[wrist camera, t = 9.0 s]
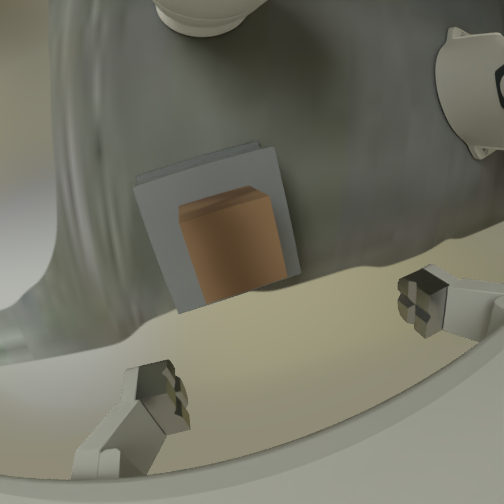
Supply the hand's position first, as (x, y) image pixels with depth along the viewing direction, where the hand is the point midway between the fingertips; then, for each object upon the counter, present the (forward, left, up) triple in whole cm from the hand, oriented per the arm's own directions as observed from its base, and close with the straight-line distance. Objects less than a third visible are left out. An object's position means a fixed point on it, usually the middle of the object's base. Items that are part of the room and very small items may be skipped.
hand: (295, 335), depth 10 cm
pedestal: (0, 0, -19) cm, 19 cm away
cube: (0, 0, -13) cm, 13 cm away
